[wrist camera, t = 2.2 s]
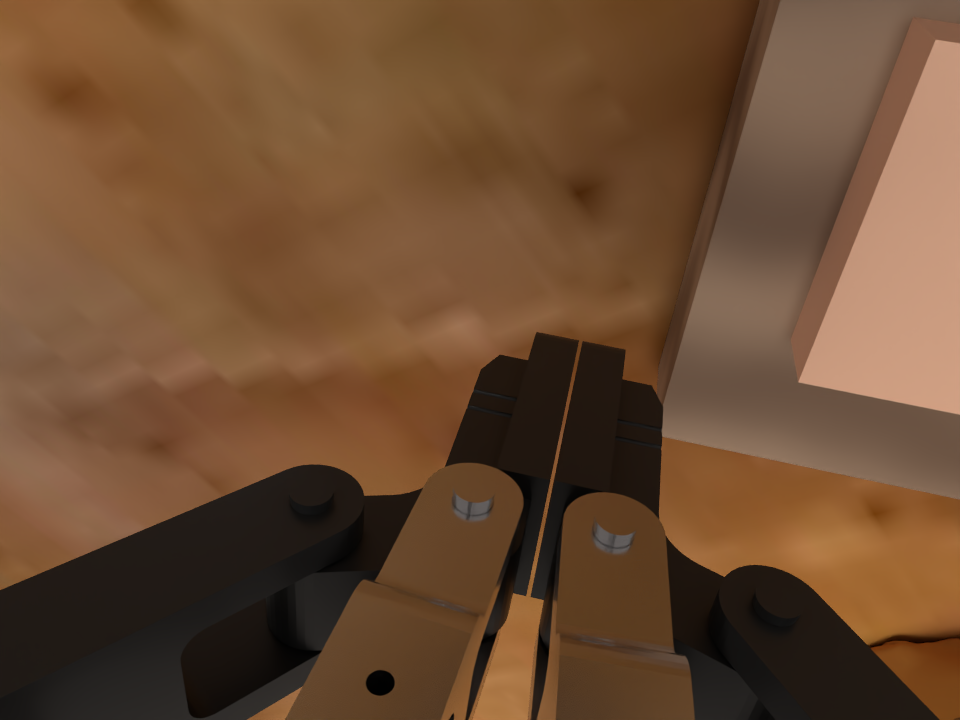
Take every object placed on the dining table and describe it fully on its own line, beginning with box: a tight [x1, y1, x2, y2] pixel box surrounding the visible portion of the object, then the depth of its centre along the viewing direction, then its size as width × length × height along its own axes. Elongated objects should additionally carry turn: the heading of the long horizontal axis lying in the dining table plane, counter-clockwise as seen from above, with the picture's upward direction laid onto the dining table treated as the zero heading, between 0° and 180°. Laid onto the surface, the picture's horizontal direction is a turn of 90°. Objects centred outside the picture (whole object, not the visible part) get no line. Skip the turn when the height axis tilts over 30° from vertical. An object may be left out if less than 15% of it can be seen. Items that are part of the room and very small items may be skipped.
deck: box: [657, 0, 960, 499], centre depth 23 cm, size 18×12×4 cm, turn 174°
